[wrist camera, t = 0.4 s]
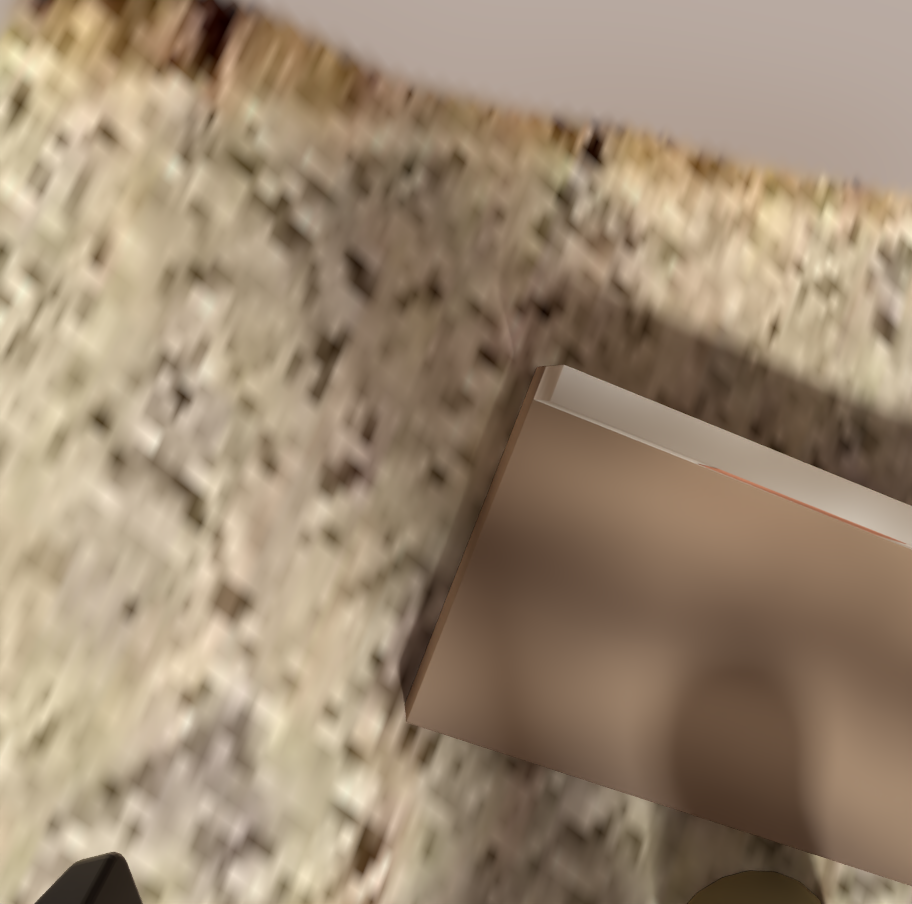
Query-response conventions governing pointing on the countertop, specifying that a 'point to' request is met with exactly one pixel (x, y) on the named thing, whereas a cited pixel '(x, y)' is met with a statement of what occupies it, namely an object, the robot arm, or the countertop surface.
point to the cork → (755, 890)
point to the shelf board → (686, 625)
